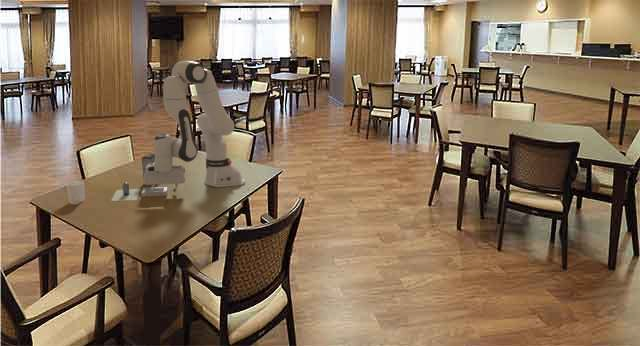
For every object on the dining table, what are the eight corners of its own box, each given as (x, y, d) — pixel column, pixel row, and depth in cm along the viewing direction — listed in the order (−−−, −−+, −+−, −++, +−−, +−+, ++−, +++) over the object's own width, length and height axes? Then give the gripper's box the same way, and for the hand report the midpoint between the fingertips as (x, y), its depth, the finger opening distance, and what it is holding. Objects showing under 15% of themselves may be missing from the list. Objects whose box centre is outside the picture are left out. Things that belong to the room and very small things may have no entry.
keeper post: (129, 193, 260) (128, 181, 258) (129, 195, 257) (128, 183, 256) (123, 193, 260) (122, 181, 258) (122, 195, 257) (121, 183, 255)
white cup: (72, 199, 252) (69, 180, 249) (88, 199, 253) (86, 180, 250) (65, 205, 244) (63, 185, 242) (82, 205, 245) (80, 185, 242)
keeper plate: (141, 190, 268) (140, 188, 268) (136, 201, 252) (136, 199, 251) (117, 191, 266) (116, 189, 266) (110, 202, 249) (110, 200, 249)
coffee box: (152, 180, 286) (150, 153, 281) (162, 181, 284) (160, 154, 280) (143, 185, 277) (141, 157, 273) (154, 186, 276) (152, 158, 271)
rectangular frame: (167, 192, 267) (167, 186, 266) (166, 197, 259) (166, 191, 258) (143, 193, 264) (143, 187, 263) (142, 198, 257) (141, 192, 256)
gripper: (185, 163, 264) (186, 189, 267) (143, 165, 259) (145, 190, 263) (184, 167, 258) (185, 192, 261) (142, 168, 253) (144, 194, 257)
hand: (165, 191), depth 262 cm, fingers open, 8 cm apart
